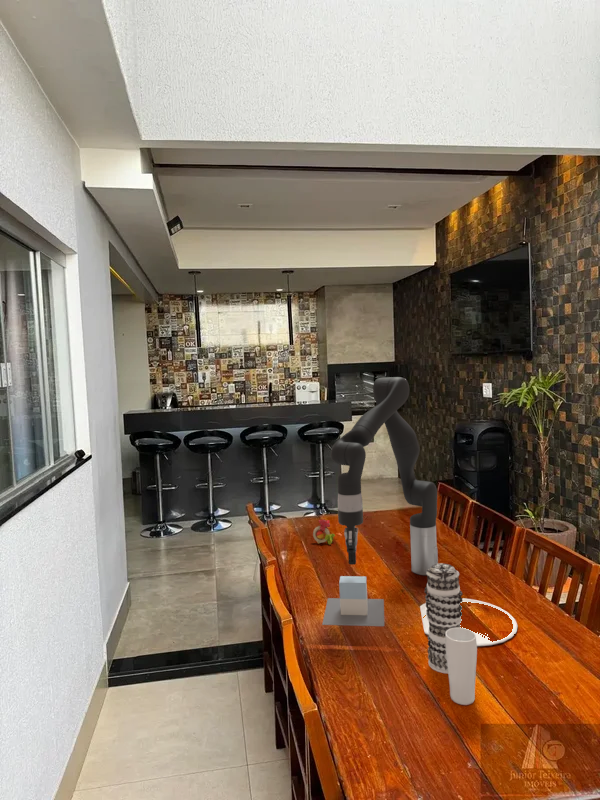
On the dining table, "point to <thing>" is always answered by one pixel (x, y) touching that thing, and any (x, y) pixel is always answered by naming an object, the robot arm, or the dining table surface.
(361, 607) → the cream base brick
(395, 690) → the dining table surface
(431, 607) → the decorative candle
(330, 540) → the bird rattle
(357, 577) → the pale blue brick
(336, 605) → the charcoal baseplate
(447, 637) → the drinking glass
